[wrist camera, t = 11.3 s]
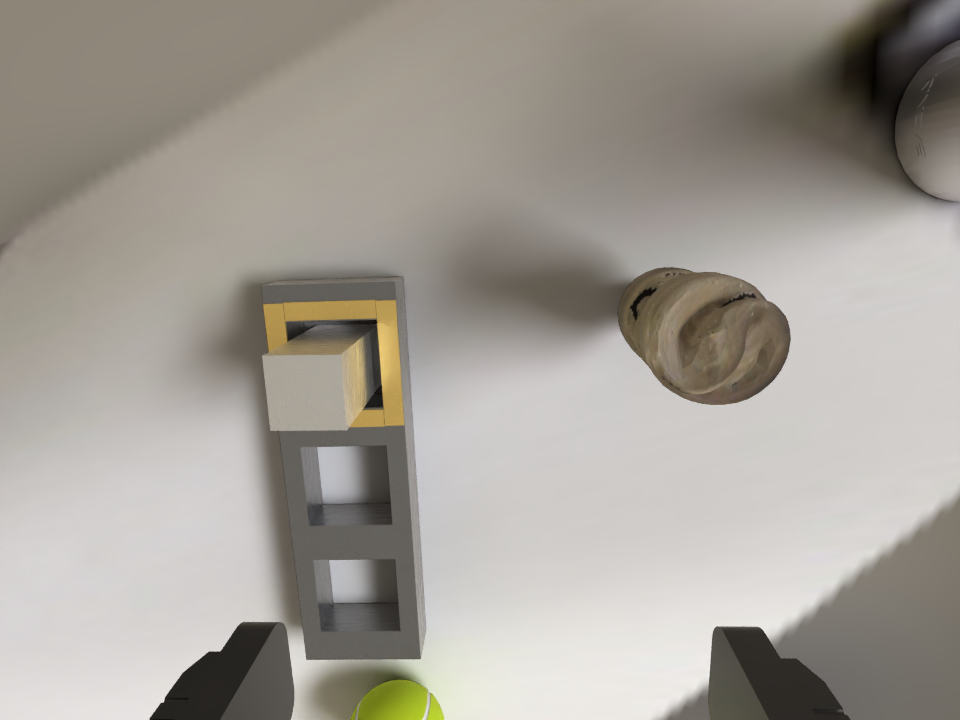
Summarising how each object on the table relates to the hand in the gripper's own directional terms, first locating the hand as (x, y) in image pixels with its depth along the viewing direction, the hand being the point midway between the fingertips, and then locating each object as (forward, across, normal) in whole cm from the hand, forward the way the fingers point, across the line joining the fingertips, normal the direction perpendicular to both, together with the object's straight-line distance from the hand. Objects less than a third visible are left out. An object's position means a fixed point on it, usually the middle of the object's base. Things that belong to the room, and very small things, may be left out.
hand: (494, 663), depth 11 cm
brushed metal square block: (+27, +10, 0) cm, 29 cm away
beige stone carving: (+28, -9, -3) cm, 29 cm away
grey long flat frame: (+27, +10, +8) cm, 30 cm away
